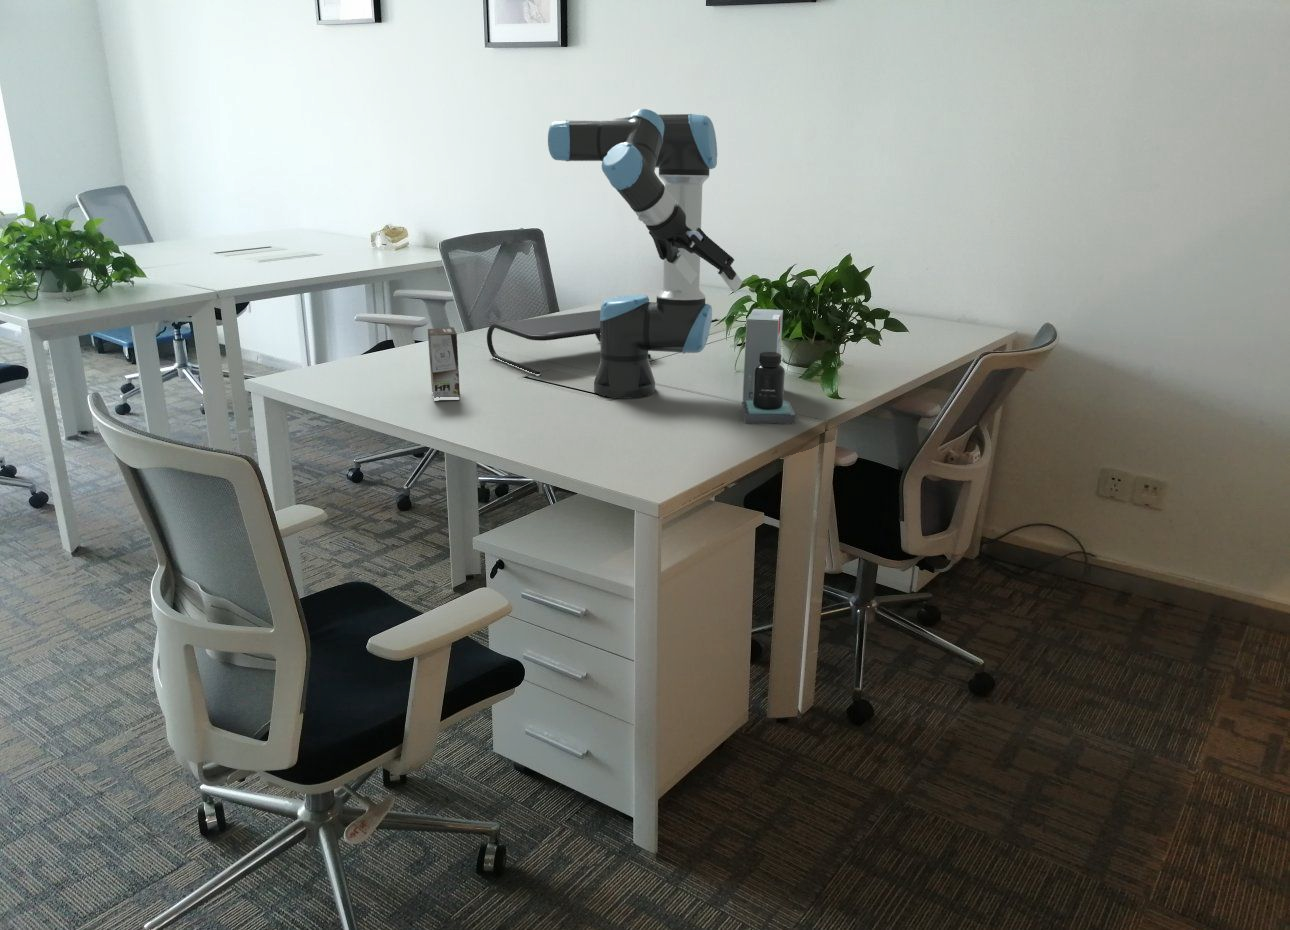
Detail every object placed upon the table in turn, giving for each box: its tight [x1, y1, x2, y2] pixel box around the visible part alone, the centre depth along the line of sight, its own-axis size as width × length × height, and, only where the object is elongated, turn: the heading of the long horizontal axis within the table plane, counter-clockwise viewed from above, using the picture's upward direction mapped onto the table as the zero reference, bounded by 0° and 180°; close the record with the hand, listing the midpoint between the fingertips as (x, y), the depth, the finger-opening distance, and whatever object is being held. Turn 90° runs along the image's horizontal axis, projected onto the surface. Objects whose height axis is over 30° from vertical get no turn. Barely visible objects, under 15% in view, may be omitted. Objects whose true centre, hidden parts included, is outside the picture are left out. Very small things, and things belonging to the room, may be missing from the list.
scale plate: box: [745, 400, 791, 414], centre depth 232 cm, size 9×9×1 cm
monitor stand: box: [486, 309, 652, 374], centre depth 287 cm, size 37×28×11 cm
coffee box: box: [427, 326, 461, 399], centre depth 246 cm, size 9×6×16 cm
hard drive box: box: [742, 308, 784, 402], centre depth 247 cm, size 16×8×20 cm, turn 168°
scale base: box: [741, 401, 796, 425], centre depth 232 cm, size 11×11×2 cm
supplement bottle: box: [753, 352, 786, 410], centre depth 230 cm, size 7×7×12 cm
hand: (715, 283), depth 212 cm, fingers open, 13 cm apart
